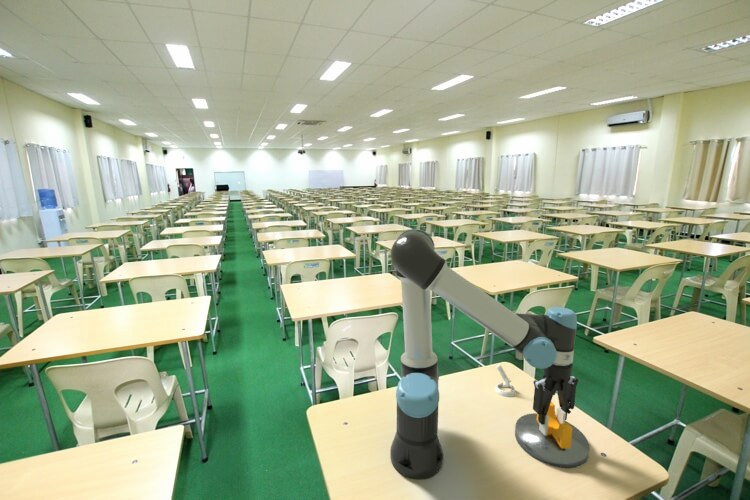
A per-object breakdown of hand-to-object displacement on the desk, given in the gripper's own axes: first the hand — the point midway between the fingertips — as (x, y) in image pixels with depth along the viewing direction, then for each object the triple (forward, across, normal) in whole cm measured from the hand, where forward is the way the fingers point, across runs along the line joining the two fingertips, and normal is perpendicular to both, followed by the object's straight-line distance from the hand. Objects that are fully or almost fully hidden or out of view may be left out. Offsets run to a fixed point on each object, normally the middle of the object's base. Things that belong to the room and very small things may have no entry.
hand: (551, 430), depth 104 cm
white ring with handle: (+4, +2, +27) cm, 27 cm away
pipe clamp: (0, 0, -1) cm, 1 cm away
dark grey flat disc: (+4, 0, 0) cm, 4 cm away
